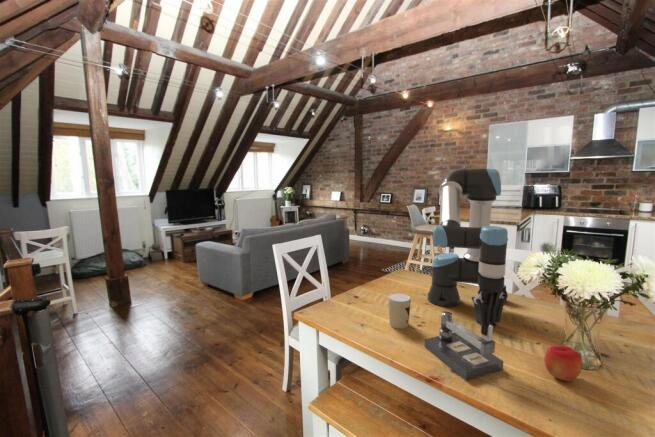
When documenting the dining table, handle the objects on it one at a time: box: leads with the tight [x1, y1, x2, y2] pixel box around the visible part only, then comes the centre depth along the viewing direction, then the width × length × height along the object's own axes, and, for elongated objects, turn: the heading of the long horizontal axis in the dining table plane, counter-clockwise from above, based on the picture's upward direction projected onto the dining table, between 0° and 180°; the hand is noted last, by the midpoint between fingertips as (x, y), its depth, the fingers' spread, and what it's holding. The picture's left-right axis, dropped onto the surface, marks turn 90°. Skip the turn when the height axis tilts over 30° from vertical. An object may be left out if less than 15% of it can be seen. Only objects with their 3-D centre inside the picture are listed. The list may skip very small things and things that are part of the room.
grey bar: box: [440, 310, 496, 356], centre depth 104 cm, size 21×4×6 cm, turn 20°
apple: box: [543, 344, 583, 382], centre depth 94 cm, size 10×10×10 cm
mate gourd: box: [502, 284, 508, 302], centre depth 151 cm, size 7×8×10 cm
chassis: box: [424, 327, 504, 382], centre depth 106 cm, size 15×20×6 cm
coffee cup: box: [387, 292, 412, 330], centre depth 129 cm, size 9×9×12 cm
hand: (486, 343), depth 102 cm, fingers closed
